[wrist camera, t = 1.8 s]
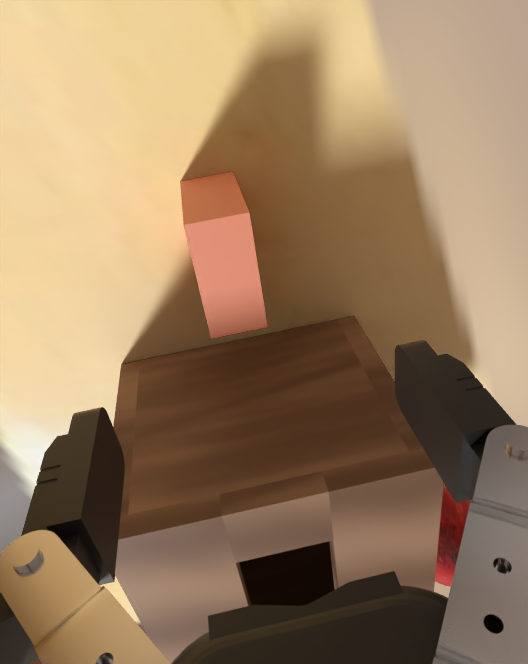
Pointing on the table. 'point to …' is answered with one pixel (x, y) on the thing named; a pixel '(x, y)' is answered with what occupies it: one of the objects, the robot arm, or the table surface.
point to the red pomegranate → (450, 537)
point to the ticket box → (267, 478)
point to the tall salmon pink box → (223, 254)
